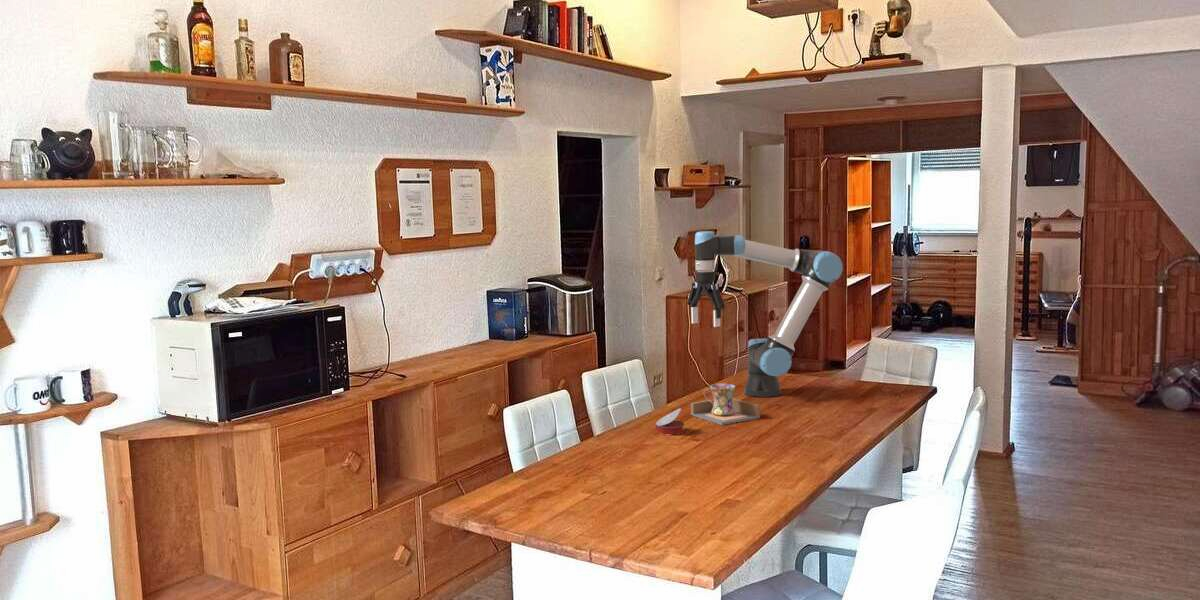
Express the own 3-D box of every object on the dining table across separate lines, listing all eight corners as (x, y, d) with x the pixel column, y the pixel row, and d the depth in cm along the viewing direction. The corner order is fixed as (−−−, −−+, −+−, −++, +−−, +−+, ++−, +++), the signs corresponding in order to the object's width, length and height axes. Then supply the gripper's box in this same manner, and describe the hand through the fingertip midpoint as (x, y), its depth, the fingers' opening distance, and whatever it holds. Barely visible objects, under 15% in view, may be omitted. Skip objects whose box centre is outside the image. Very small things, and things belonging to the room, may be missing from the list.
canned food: (676, 448, 315) (670, 426, 310) (652, 441, 322) (646, 419, 316) (693, 427, 322) (688, 406, 317) (669, 421, 328) (664, 399, 323)
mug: (738, 412, 341) (738, 384, 340) (732, 417, 333) (731, 389, 332) (707, 410, 346) (706, 382, 345) (700, 415, 337) (700, 387, 336)
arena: (728, 409, 351) (728, 396, 351) (759, 418, 336) (759, 405, 336) (690, 416, 342) (690, 402, 342) (721, 425, 327) (721, 411, 326)
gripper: (677, 270, 365) (678, 322, 368) (718, 273, 345) (719, 329, 347) (692, 268, 370) (693, 320, 372) (733, 272, 349) (734, 327, 351)
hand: (705, 324), depth 359 cm, fingers open, 13 cm apart
